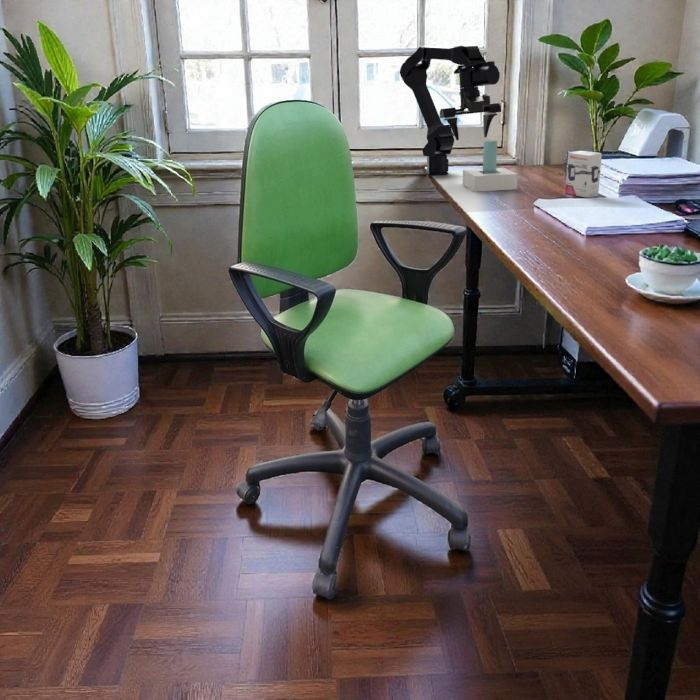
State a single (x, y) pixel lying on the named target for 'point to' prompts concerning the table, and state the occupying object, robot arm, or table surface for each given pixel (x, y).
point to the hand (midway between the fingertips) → (471, 138)
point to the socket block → (489, 180)
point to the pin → (489, 157)
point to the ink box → (583, 173)
